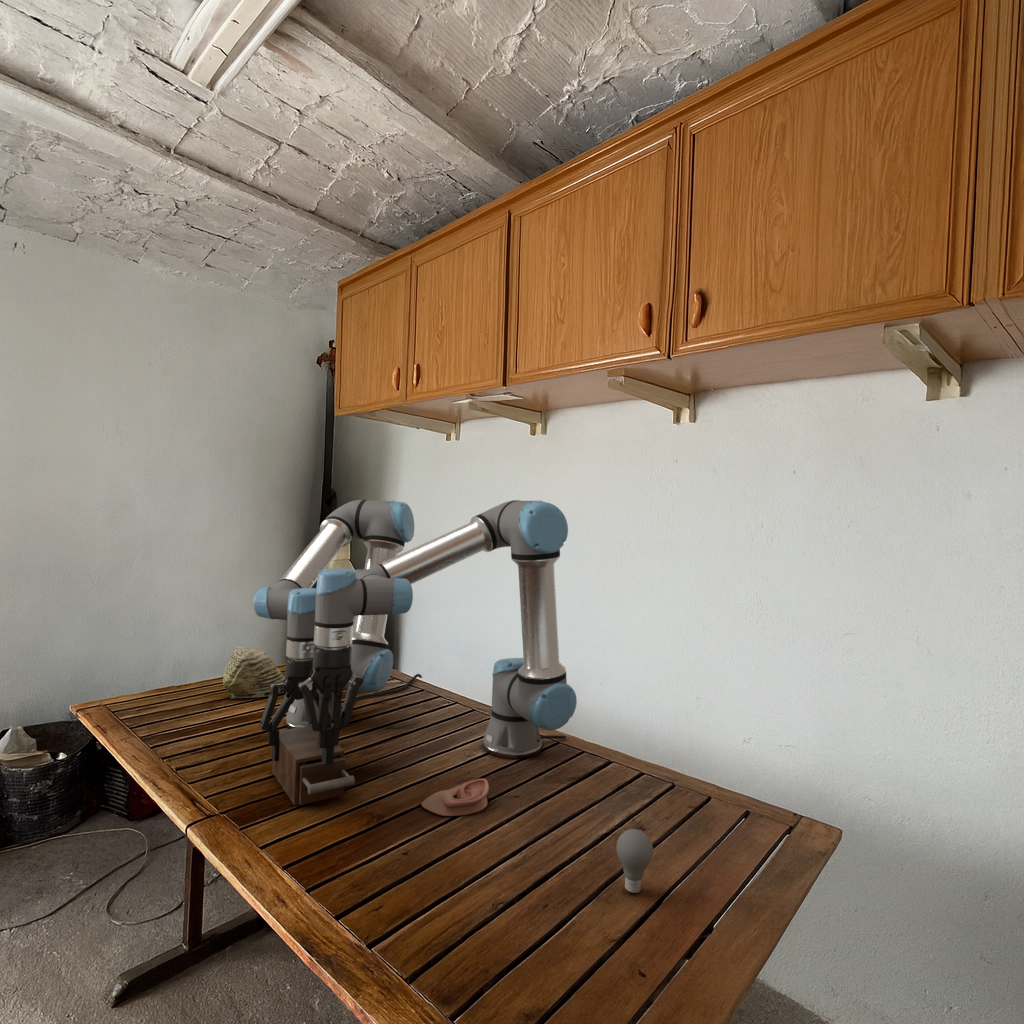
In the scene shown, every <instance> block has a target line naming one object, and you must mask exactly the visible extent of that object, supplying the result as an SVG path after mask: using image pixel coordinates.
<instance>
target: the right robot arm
mask: <svg viewBox="0 0 1024 1024" xmlns="http://www.w3.org/2000/svg"><path fill="white" fill-rule="evenodd" d="M568 534H569V525H568V520H567V519H566V516H565V514H564V513H563V511H562V510H561V509H560V508H559V507H558V506H556V504H554V503H550V502H547V501H543V500H519V499H516V500H515V499H513V500H507V501H506V502H502V503H500V504H498V505H496V506H493V507H491V508H490V509H487V510H485V511H483V512H481V513H479V514H477V515H474V516H472V517H471V518H470V521H469V523H466V524H464V525H462V526H460V527H458V528H456V529H454V530H451V531H449V532H447V533H445V534H441V535H440V536H438V537H436V538H433V539H430V540H429V541H427V542H424V543H422V544H420V545H418V546H416V547H413V548H410V549H408V550H407V551H404V552H403V553H399V554H398V555H397V556H395V557H393V558H391V559H389V560H387V561H384V562H382V563H380V564H378V565H375V566H373V567H371V568H368V569H364V568H359V569H350V568H334V567H333V568H326V569H324V570H321V571H320V572H319V574H318V578H317V581H316V588H315V589H316V591H315V594H316V609H315V628H314V644H315V645H316V646H315V648H314V649H313V668H312V671H311V673H310V678H308V679H307V680H306V681H304V682H299V683H298V687H299V689H300V690H301V692H302V693H303V698H304V703H305V708H306V712H307V717H308V722H309V726H310V727H311V728H312V729H313V730H314V731H318V745H319V747H320V748H322V762H323V763H324V764H325V765H331V764H333V757H334V746H337V745H339V741H340V732H341V731H342V728H344V727H347V726H349V724H350V721H351V717H352V713H353V711H354V706H355V702H356V700H355V699H356V697H357V696H358V693H359V691H358V689H359V688H360V686H361V685H362V683H363V679H362V678H360V677H359V676H357V675H354V674H353V671H352V669H351V659H352V648H351V646H349V645H351V644H352V636H353V629H354V620H355V619H354V617H356V616H362V615H387V616H389V615H392V616H395V615H402V614H407V613H408V612H409V611H410V610H411V608H412V605H413V599H414V592H413V591H414V590H413V586H412V585H413V584H415V583H417V582H419V581H421V580H423V579H425V578H428V577H430V576H433V575H434V574H437V573H438V572H440V571H442V570H445V569H447V568H449V567H451V566H454V565H455V564H457V563H460V562H462V561H465V560H466V559H468V558H470V557H472V556H475V555H477V554H479V553H481V552H485V553H490V552H492V551H494V550H497V549H500V548H509V547H510V557H511V561H512V562H514V563H515V564H516V565H517V567H518V569H517V570H518V584H519V585H518V588H519V589H518V590H519V601H520V602H519V604H520V619H521V620H520V622H521V640H522V641H521V642H522V656H523V657H508V658H502V659H499V660H496V661H495V662H494V664H493V669H492V689H491V715H490V719H489V722H488V724H487V727H486V731H485V733H484V735H483V739H482V748H483V750H484V751H485V752H487V753H488V754H490V755H493V756H495V757H499V758H503V759H514V760H515V759H527V758H531V757H535V756H536V755H538V754H540V753H541V751H542V745H543V744H542V743H543V741H542V740H566V738H567V737H566V735H550V734H549V735H541V733H540V729H541V730H545V731H557V730H559V729H560V728H563V727H564V726H565V725H566V724H567V723H568V722H569V721H570V719H571V718H572V717H573V716H574V714H575V712H576V708H577V702H578V698H577V694H576V692H575V690H574V689H573V687H572V685H570V684H568V683H567V682H568V680H567V679H568V678H567V669H566V666H565V665H564V664H563V663H561V662H560V650H559V649H560V647H559V633H558V632H559V631H558V628H559V627H558V613H557V612H558V611H557V591H556V571H555V564H556V563H557V561H558V560H559V559H560V558H561V549H562V547H563V546H564V543H565V542H566V541H567V539H568ZM348 681H349V687H348V690H346V693H345V698H344V701H343V704H342V698H343V696H344V689H343V688H344V687H345V686H346V684H347V683H348ZM313 683H314V685H315V686H316V687H317V689H318V690H319V713H318V721H317V716H316V711H315V706H314V701H313V696H312V693H311V690H312V684H313ZM330 693H332V703H331V728H328V711H329V698H330ZM341 706H343V708H342V711H341ZM539 728H540V729H539Z"/></svg>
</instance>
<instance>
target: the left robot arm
mask: <svg viewBox="0 0 1024 1024" xmlns="http://www.w3.org/2000/svg"><path fill="white" fill-rule="evenodd" d="M413 513H414V512H413V511H412V508H411V507H410V505H409V504H408V503H406V502H403V501H396V500H373V499H356V500H352V501H349V502H346V503H345V504H343V505H341V506H339V507H337V508H336V509H334V510H333V511H332V512H331V513H329V515H327V516H326V517H325V518H324V519H323V521H322V522H321V523H320V526H319V532H318V533H317V534H316V535H315V536H314V537H313V539H312V540H311V541H310V543H309V544H308V545H307V546H306V547H305V548H304V550H303V551H302V552H301V553H300V554H299V555H298V557H297V558H296V560H294V562H293V563H292V564H291V566H290V567H289V568H288V569H287V570H286V572H285V573H284V574H283V575H282V577H280V579H279V580H278V581H277V582H276V584H275V585H274V586H273V587H271V586H268V587H267V586H265V587H262V588H259V589H258V590H257V591H256V593H255V595H254V596H253V602H252V603H253V605H252V606H253V610H254V613H255V614H256V616H258V617H259V618H264V619H270V620H282V621H287V623H286V624H287V627H286V629H287V630H286V631H287V632H286V645H285V646H286V647H285V656H286V657H287V658H286V659H285V672H284V675H285V676H284V677H285V680H284V682H283V683H278V684H275V683H271V684H270V695H269V696H268V698H267V702H266V704H265V707H264V710H263V713H262V716H261V719H260V721H259V727H260V729H261V730H262V731H267V744H268V746H269V747H271V758H272V761H273V760H274V761H278V755H279V731H280V729H278V727H279V726H280V724H281V722H282V721H283V719H284V717H285V726H286V728H287V729H293V728H299V727H305V726H309V722H308V717H307V712H306V708H305V703H304V698H303V693H302V692H301V690H300V689H299V687H298V683H299V682H304V681H306V680H307V679H308V678H310V673H311V671H312V668H313V649H314V648H315V646H316V645H315V644H314V628H315V609H316V594H315V591H316V588H314V587H313V586H314V585H315V584H316V583H317V578H318V574H319V572H320V571H321V570H324V569H327V567H328V566H329V565H330V564H331V562H332V561H333V559H334V558H335V557H336V555H337V554H338V553H339V552H340V550H341V549H342V548H344V547H346V546H348V545H349V544H350V543H351V542H352V541H353V540H363V545H364V546H365V548H366V549H367V553H366V558H365V564H364V568H363V569H368V568H371V567H373V566H375V565H378V564H380V563H382V562H384V561H387V560H389V559H391V558H393V557H395V556H398V555H399V554H401V552H402V551H404V550H405V543H409V542H411V541H412V540H413V538H414V536H415V519H414V514H413ZM387 621H388V615H362V616H355V619H354V623H353V636H352V644H351V645H349V646H351V648H352V659H351V669H352V671H353V674H354V675H357V676H359V677H360V678H362V679H363V683H362V685H361V686H360V688H359V689H358V692H359V693H366V694H361V695H357V696H356V699H355V701H358V700H360V699H365V698H373V697H380V696H384V695H390V694H394V693H399V692H400V691H404V690H406V689H407V688H408V687H409V686H410V684H412V683H413V682H414V681H415V680H416V679H417V678H419V679H422V678H423V676H422V674H421V673H416V674H415V675H414V676H413V677H411V679H410V680H409V681H407V683H406V684H405V685H403V686H400V687H399V688H394V689H390V690H384V691H381V690H382V689H383V688H384V687H385V685H386V684H387V683H388V681H389V679H390V677H391V675H392V671H393V668H394V654H393V651H392V650H390V649H388V647H389V642H388V641H387V639H386V638H385V633H386V626H387ZM348 687H349V681H348V683H347V684H346V686H345V687H344V688H343V690H344V691H345V690H346V691H347V690H348ZM283 688H284V689H285V692H286V693H285V694H284V696H283V700H282V701H281V703H280V704H279V706H278V708H277V709H276V711H275V713H274V710H275V708H276V704H277V703H278V699H279V695H280V694H282V693H281V690H282V689H283ZM279 693H280V694H279ZM311 693H312V696H313V701H314V706H315V711H316V716H317V721H318V713H319V690H318V689H317V687H316V686H315V685H314V683H313V684H312V690H311ZM331 703H332V693H330V698H329V711H328V728H331ZM342 708H343V705H341V711H342ZM273 714H274V715H273Z"/></svg>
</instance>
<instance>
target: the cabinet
mask: <svg viewBox="0 0 1024 1024" xmlns="http://www.w3.org/2000/svg"><path fill="white" fill-rule="evenodd" d="M334 756H337V758H344V759H345V750H344V749H343V747H341V746H340V745H339V744H338V745H337V746H334ZM318 759H322V748H320V747H319V745H318V731H314V730H313V729H312V728H311V727H310V726H305V727H299V728H293V729H289V728H287V729H282V730H280V729H279V755H278V761H274V760H273V759H272V770H271V771H272V775H273V776H274V777H275V779H276V781H277V782H278V783H279V785H280V786H281V788H282V790H283V791H284V793H285V794H286V796H287V798H288V799H289V800H290V802H291V803H292V804H293V805H294V806H298V805H300V804H299V768H300V763H302V762H307V761H312V760H318Z"/></svg>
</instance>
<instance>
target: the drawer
mask: <svg viewBox="0 0 1024 1024" xmlns="http://www.w3.org/2000/svg"><path fill="white" fill-rule="evenodd" d="M345 769H346V758H345V757H344V758H337V756H334V757H333V764H331V765H325V764H324V763H323V762H322V759H318V760H312V761H307V762H302V763H300V768H299V805H300V806H303V805H309V804H312V803H317V802H320V801H325V800H329V799H334V798H339V797H343V796H344V795H345V787H348V786H353V785H355V783H356V779H355V777H354V775H349V773H348V772H347V771H346V770H345Z"/></svg>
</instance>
